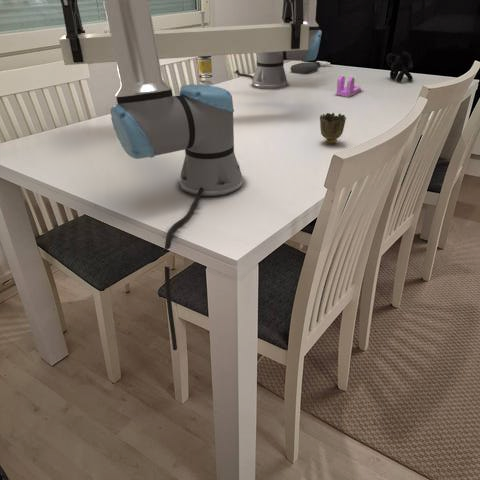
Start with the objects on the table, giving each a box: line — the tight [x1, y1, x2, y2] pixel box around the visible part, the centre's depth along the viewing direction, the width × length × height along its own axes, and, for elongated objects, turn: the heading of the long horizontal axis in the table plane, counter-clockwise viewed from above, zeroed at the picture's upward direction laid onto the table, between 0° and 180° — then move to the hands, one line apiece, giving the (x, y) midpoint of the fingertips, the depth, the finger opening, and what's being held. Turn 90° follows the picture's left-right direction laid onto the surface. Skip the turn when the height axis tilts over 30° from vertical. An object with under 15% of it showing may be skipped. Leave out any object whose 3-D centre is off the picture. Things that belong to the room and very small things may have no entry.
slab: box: [58, 22, 309, 66], centre depth 138 cm, size 75×9×7 cm, turn 100°
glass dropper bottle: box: [197, 11, 214, 86], centre depth 181 cm, size 6×6×30 cm
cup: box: [319, 112, 347, 145], centre depth 131 cm, size 8×7×8 cm
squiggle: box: [385, 51, 414, 83], centre depth 198 cm, size 11×10×15 cm
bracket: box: [335, 75, 362, 98], centre depth 181 cm, size 13×6×7 cm, turn 143°
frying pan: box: [289, 60, 331, 75], centre depth 223 cm, size 3×11×24 cm
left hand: (80, 59), depth 135 cm, fingers closed on slab, 9 cm apart
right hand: (291, 46), depth 144 cm, fingers closed on slab, 9 cm apart
